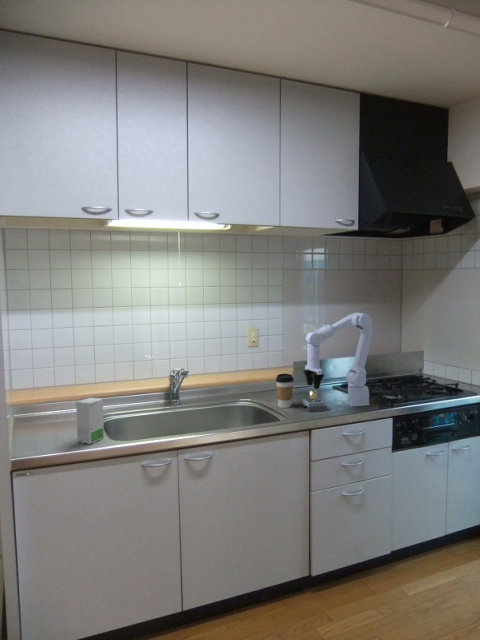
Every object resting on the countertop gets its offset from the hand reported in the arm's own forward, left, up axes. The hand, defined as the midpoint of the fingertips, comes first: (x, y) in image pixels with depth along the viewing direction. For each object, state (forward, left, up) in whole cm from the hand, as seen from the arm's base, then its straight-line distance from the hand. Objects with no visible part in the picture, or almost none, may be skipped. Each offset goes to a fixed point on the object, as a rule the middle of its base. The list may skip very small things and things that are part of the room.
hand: (313, 386), depth 225 cm
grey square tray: (+1, +2, -10) cm, 10 cm away
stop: (+1, +6, -10) cm, 11 cm away
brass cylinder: (+1, +1, -7) cm, 7 cm away
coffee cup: (+12, -6, -10) cm, 17 cm away
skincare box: (+99, +19, -10) cm, 102 cm away
